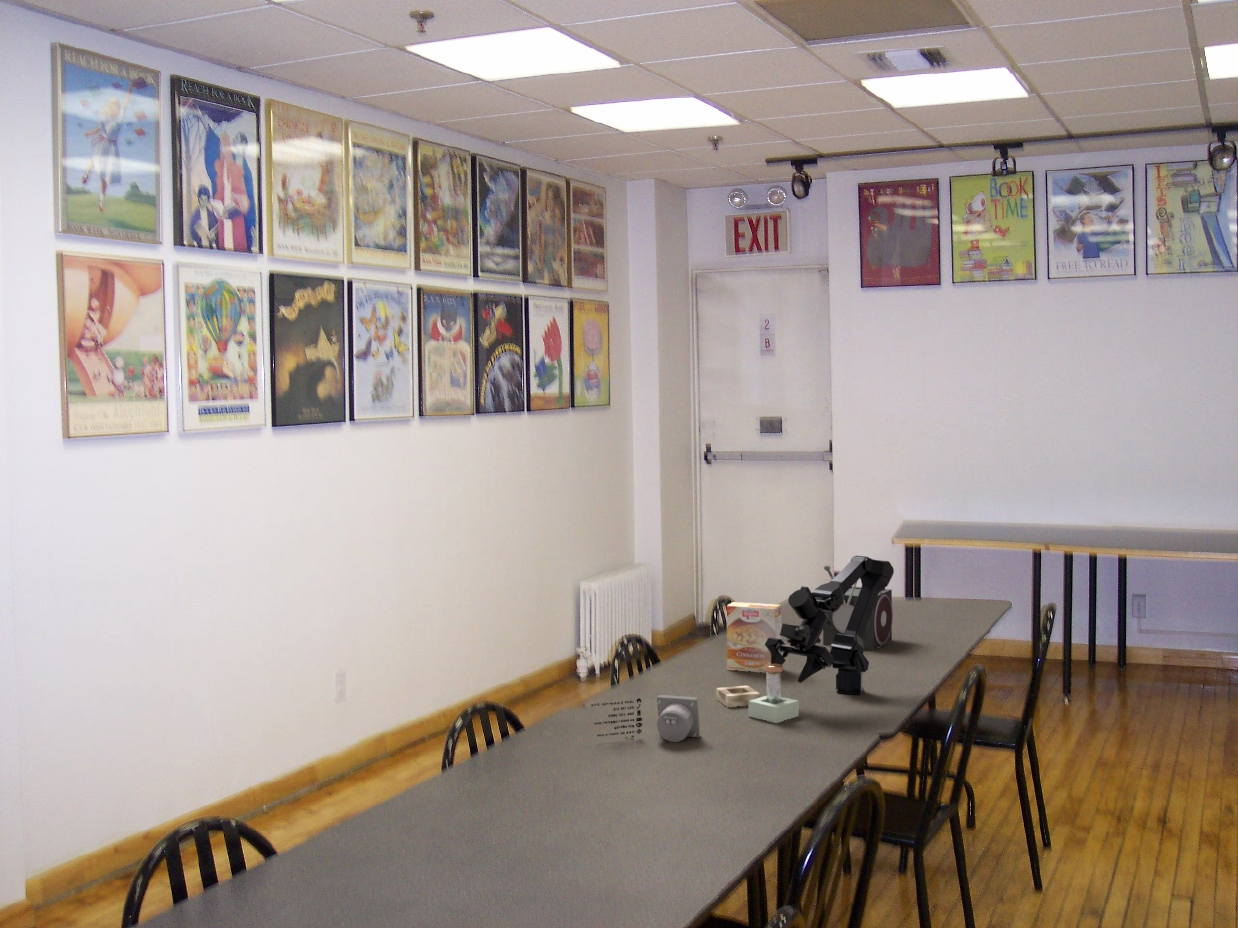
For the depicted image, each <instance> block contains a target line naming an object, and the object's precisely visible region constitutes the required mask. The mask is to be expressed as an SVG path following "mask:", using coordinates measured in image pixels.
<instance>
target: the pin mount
mask: <svg viewBox="0 0 1238 928" xmlns="http://www.w3.org/2000/svg"><path fill="white" fill-rule="evenodd" d="M760 697H761V693H760V692H758V691H757V690H755V689H753V688H752V687H751V686H749V685H736V686H727V687H726V686H724V687H715V699H716V700H717V701H718V702H719V701H720V703H721V704H723V706H725V707H726V708H728V707H729V708H737V706H740V707H748V701H750V700H753V699H757V698H760Z"/></svg>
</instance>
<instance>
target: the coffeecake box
mask: <svg viewBox="0 0 1238 928" xmlns="http://www.w3.org/2000/svg"><path fill="white" fill-rule="evenodd" d="M781 628H782V605H781V604H774V603H771V604H770V603H758V602H757V603H756V602H743V601H742V602H740V601H739V602H738V601H732V602H730V603H728V604H727V605H726V667H727V668H726V670H727V671H735V670H738V672H748V671H751V672H750V673H760V672H762V673H761V674H763V673H764V674H766V671H764V665H766V664H771V653H770V651H769V650H768V648H767V647H766V646H765V643H766V641H767V639H768V638H770V637H772V638H778V639H782V636H780V632H781Z"/></svg>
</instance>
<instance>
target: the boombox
mask: <svg viewBox="0 0 1238 928" xmlns="http://www.w3.org/2000/svg"><path fill="white" fill-rule="evenodd" d="M823 569H824V571H826V572H827V573H828V575H829V578H830V579H831V581H832V580H833V579H834V578H835V577H836V576H837V575H838V574H839V573H840V572H841V571H842V570H834V571H833V574H832V571H831V565H829V564H824V566H823ZM859 580H861V579H860V578H859V579H858V581H859ZM858 581H857V582H856V583H855V584H854V585H853V586H852V587H851V588H850V589H849V590H848V591H847V592H846V593H845V595H844V602H843V603H842V605H841V606H840V607H839V609H838V610H837V611H836V612H829V611H824V612H825V614H826V615H829V616H830V621H831V626H827V625H825V627H824V628H823V630H822V639H823V640H822V643H823V644H822V646H828V645H830V647H831V645H832V643H833V640H834V637H835V635H836V634H842V633H843V632H845V630H846V627H847V624H848V622H849V619H850V616H851V614H852V611H853V608H854V606H855V603H856V600H857V598H858V595H859V592H860V590H861V587H862V586H857V585H858V583H859V582H858ZM892 591H893V589H892V588H891V589H890V588H886V587H885V588H884V589H883V590H882V591H880V592H879V594H878V596H877V599H876V602H875V605H874V607H873V610H872V613H871V615H870V618H869V621H868V624H867V626H866V629H865V632H864V634H863V637H862V641H863V646H864V649H865V650H864V651H866V650H867V651H875V650H877V649H879V648H881V647H882V645H883V646H884V644H885V645H886V644H888V643H890V642H892V641H893V638H892V637H893V634H892V633H893V632H892V631H893V630H892V629H893V619H894V618H893V616H894V615H893V606H892V605H893V603H892V602H893V599H892V598H893V597H892V596H893V593H892ZM880 646H881V647H880ZM878 647H879V648H878Z"/></svg>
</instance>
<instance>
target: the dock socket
mask: <svg viewBox="0 0 1238 928" xmlns="http://www.w3.org/2000/svg"><path fill="white" fill-rule="evenodd" d="M799 701H800V700H797V699H794V698H788V697H784V696H781V703H778V704H771V703H767V695H764V696H760V698H757V699H753V700H750V701H748V706H747V707H748V717H750V718H753V719H757V720H761V719H762V721H765V720H766V721H765V722H770V723H774V724H779V723H782V722H784V720H785V721H788V720H790V719H793V718H797V717H800V715H799V714H800V713H799V711H800V709H799V706H800V703H799ZM787 719H788V720H787Z"/></svg>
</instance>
